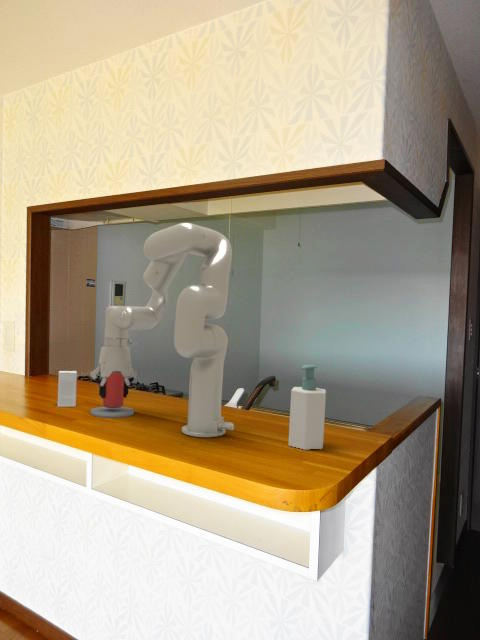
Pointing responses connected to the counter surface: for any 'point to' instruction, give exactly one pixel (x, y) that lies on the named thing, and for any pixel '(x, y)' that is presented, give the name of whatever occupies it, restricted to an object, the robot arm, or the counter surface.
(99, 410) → the slate mat
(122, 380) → the beer can
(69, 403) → the skincare box
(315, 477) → the counter surface
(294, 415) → the soap bottle
